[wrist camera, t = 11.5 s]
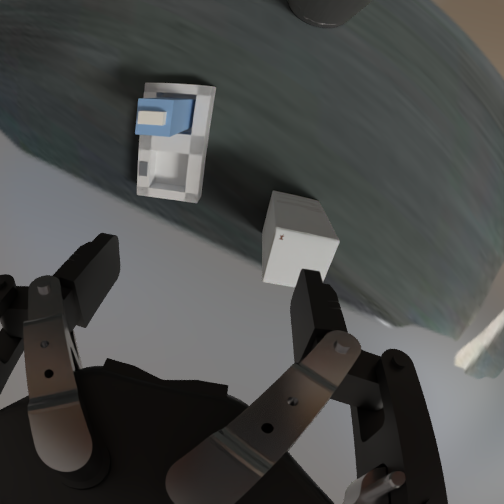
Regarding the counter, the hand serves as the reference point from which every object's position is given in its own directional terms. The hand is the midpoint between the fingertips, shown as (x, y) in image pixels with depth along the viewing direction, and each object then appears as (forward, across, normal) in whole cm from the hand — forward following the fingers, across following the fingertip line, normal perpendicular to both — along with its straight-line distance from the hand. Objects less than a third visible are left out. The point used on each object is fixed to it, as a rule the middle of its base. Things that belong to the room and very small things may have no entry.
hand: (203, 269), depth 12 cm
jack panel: (+30, +10, 0) cm, 32 cm away
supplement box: (+30, -8, +9) cm, 33 cm away
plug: (+30, +10, -4) cm, 31 cm away
